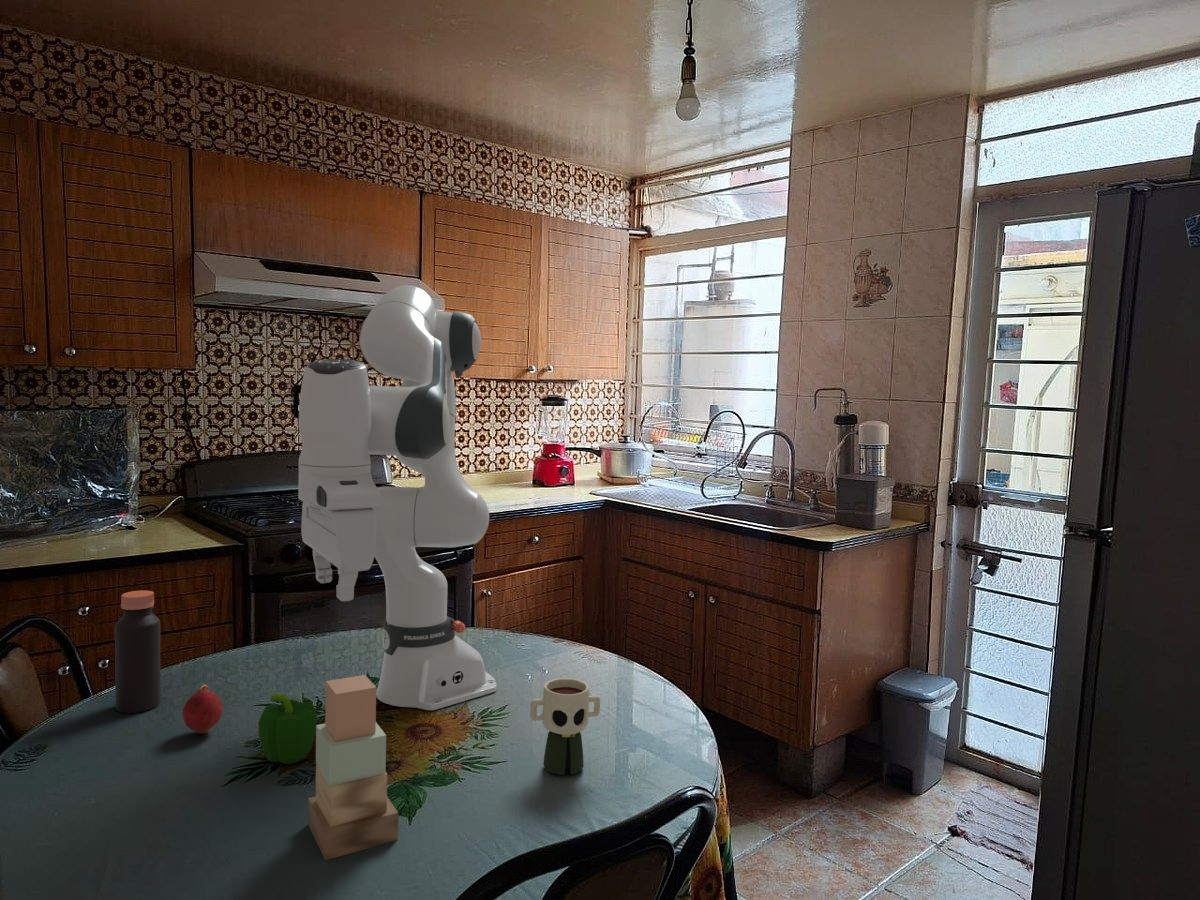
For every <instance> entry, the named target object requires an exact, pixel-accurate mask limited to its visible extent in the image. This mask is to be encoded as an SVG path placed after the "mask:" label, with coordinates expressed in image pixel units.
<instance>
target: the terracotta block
mask: <svg viewBox="0 0 1200 900" xmlns="http://www.w3.org/2000/svg"><path fill="white" fill-rule="evenodd" d="M376 691H377V686H376V685H375V684H374V683H373V682H372V681H371V679H369V678H368V676H367V675H366V674H362V675H356V676H349V677H348V676H347V677H344V678H337V679H331V680H326V681H325V714H324V715H325V717H324V718H325V721H324V724H325V727H326V728H327V730H328V731H329V733H330V734H331V736H332V737H333V739H334V740H335V741H340V740H345V739H350V738H355V737H360V736H365V735H370V734H375V729H376V723H377V721H376V719H377V717H376V716H377V697H376Z"/></svg>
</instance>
